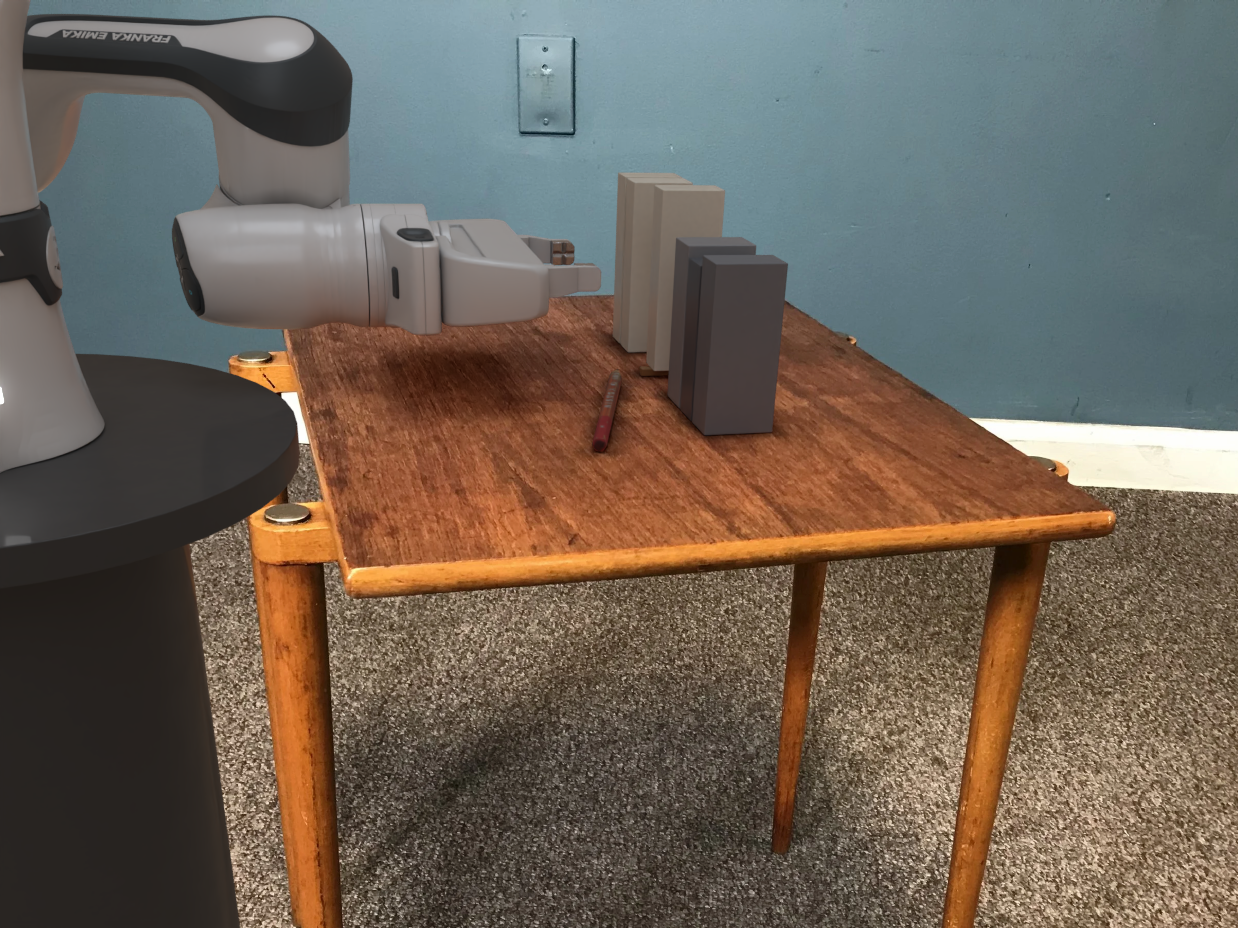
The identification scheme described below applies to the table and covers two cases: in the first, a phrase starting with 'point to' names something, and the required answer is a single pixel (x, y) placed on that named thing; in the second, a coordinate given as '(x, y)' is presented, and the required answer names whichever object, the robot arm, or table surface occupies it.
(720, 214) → the white book
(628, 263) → the white books
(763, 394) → the grey books
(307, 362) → the table surface
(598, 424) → the pencil
